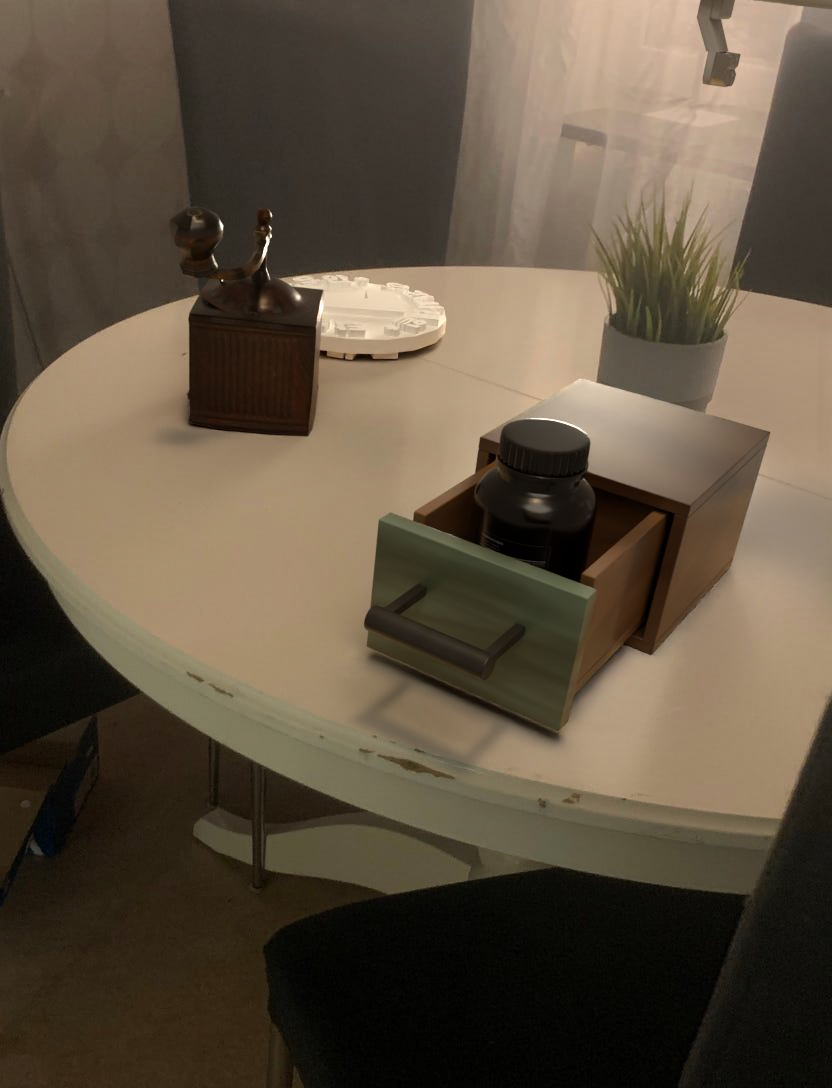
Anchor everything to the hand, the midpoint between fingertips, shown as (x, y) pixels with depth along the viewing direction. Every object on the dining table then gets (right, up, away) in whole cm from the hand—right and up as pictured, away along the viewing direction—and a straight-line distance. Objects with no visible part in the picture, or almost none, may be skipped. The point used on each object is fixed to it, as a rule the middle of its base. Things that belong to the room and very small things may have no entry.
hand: (793, 96), depth 66 cm
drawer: (-18, -33, -1) cm, 38 cm away
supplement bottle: (-17, -31, 0) cm, 36 cm away
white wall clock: (-27, 0, +50) cm, 57 cm away
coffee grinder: (-35, -14, +28) cm, 47 cm away
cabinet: (-9, -28, +10) cm, 31 cm away
